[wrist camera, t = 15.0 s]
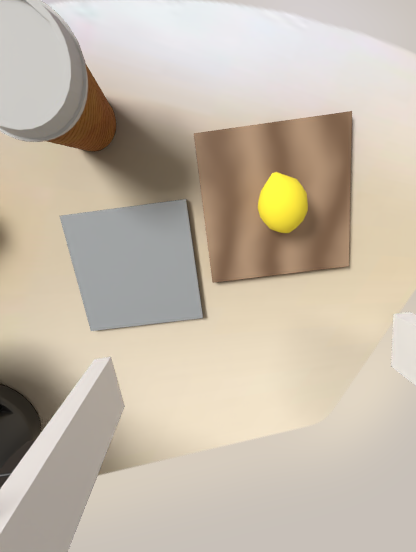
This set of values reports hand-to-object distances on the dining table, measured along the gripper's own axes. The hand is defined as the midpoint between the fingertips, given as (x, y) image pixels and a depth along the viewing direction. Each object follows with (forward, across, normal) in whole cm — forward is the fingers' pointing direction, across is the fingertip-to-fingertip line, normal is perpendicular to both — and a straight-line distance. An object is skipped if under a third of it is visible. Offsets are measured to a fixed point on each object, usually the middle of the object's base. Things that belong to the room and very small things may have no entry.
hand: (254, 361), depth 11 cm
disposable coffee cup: (+23, -13, +19) cm, 32 cm away
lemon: (+21, +8, +7) cm, 24 cm away
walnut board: (+22, +8, +7) cm, 24 cm away
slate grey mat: (+23, -11, +1) cm, 25 cm away
